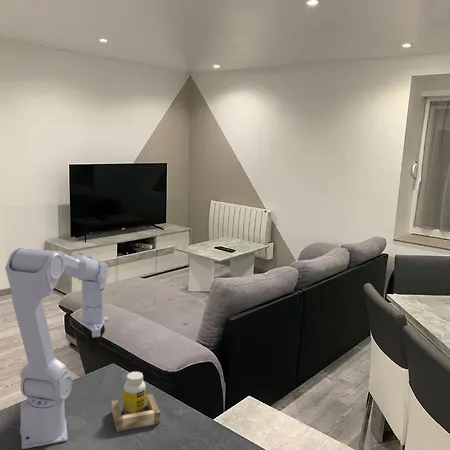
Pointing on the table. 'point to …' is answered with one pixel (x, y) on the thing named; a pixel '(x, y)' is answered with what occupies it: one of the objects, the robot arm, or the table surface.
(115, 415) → the dock
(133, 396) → the supplement bottle
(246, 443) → the table surface
